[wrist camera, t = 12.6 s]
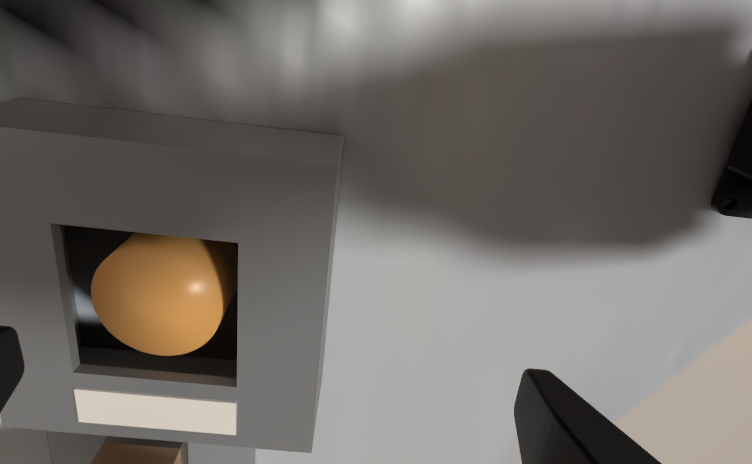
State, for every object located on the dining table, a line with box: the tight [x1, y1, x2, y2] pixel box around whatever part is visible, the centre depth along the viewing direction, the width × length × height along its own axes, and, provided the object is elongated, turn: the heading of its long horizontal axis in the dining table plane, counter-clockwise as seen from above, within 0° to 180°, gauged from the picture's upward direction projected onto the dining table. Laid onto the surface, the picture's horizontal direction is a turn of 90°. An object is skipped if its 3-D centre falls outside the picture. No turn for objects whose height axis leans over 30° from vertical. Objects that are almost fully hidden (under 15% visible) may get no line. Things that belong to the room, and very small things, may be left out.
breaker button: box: [91, 232, 238, 356], centre depth 19 cm, size 5×5×3 cm
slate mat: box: [47, 431, 255, 464], centre depth 25 cm, size 10×8×1 cm
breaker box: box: [0, 98, 344, 453], centre depth 19 cm, size 12×12×4 cm
